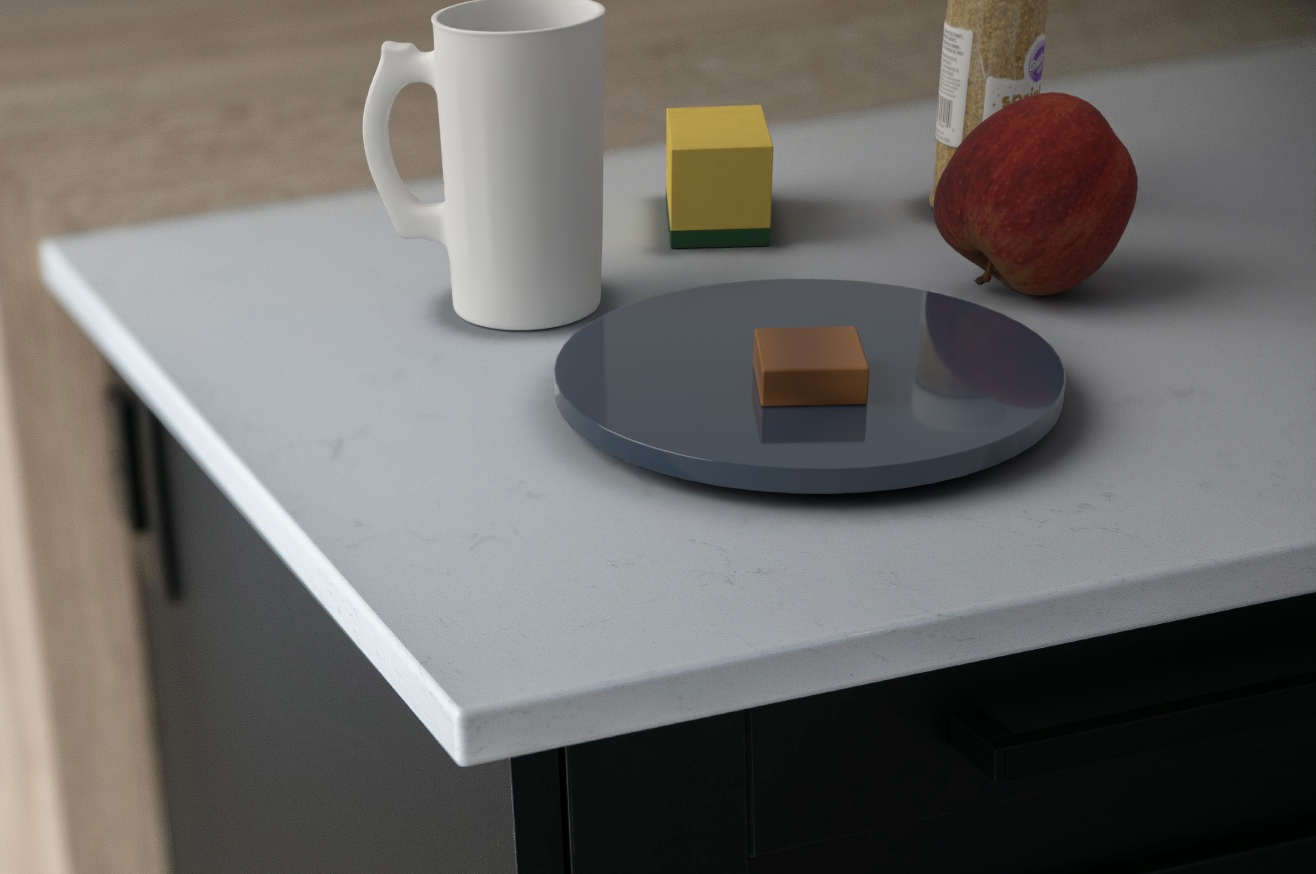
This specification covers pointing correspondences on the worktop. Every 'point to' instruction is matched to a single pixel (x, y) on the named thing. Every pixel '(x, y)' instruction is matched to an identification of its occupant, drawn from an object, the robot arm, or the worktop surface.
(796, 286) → the plate
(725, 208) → the sponge
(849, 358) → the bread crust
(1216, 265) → the worktop surface
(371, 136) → the mug
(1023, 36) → the sprinkles bottle
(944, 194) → the apple
